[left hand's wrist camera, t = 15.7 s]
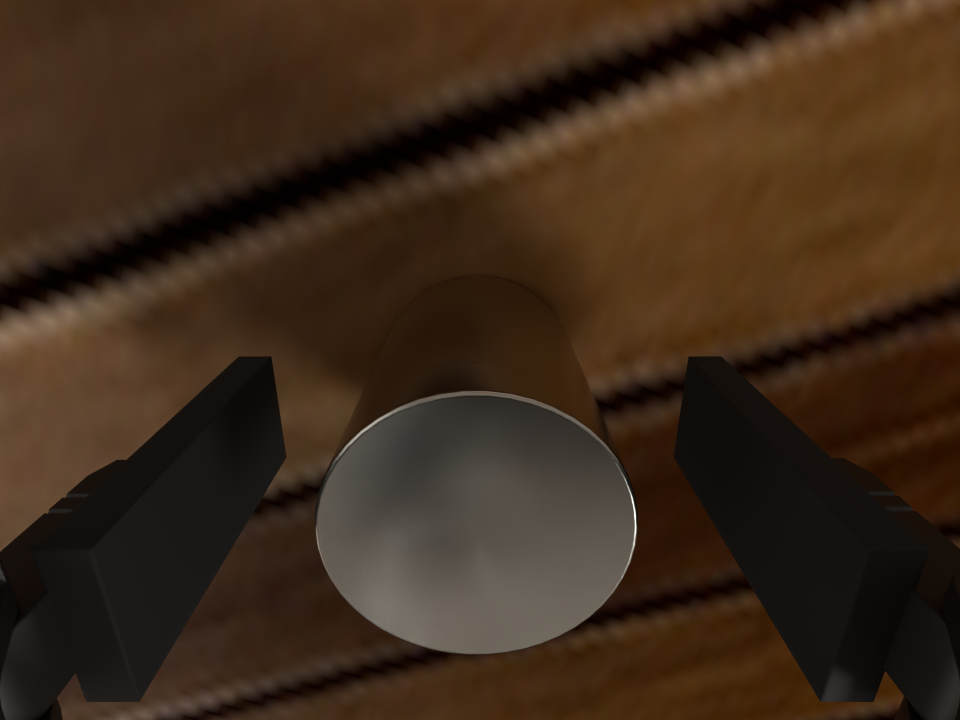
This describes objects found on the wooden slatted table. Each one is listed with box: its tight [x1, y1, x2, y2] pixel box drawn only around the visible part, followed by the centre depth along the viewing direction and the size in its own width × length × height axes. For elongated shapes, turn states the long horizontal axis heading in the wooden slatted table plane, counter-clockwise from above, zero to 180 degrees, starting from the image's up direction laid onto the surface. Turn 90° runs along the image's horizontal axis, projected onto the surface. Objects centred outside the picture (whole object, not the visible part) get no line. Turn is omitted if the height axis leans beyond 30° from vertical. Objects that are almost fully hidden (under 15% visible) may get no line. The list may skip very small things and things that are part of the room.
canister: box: [315, 276, 638, 655], centre depth 12 cm, size 5×5×7 cm
